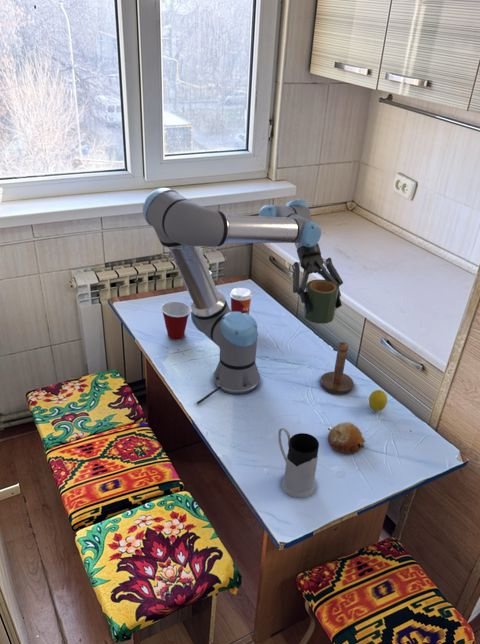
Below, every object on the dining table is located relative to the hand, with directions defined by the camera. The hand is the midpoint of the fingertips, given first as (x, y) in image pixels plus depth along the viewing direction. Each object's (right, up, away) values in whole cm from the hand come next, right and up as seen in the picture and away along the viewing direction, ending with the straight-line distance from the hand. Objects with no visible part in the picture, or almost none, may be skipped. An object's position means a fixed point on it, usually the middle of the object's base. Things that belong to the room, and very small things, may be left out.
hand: (324, 309), depth 182 cm
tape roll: (-2, -2, +4) cm, 5 cm away
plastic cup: (-52, -8, +25) cm, 58 cm away
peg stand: (+5, -25, +6) cm, 26 cm away
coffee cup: (-29, -4, +34) cm, 45 cm away
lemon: (+16, -33, -4) cm, 36 cm away
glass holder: (-12, -48, -31) cm, 59 cm away
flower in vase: (-44, +6, +47) cm, 65 cm away
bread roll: (+4, -41, -18) cm, 45 cm away
